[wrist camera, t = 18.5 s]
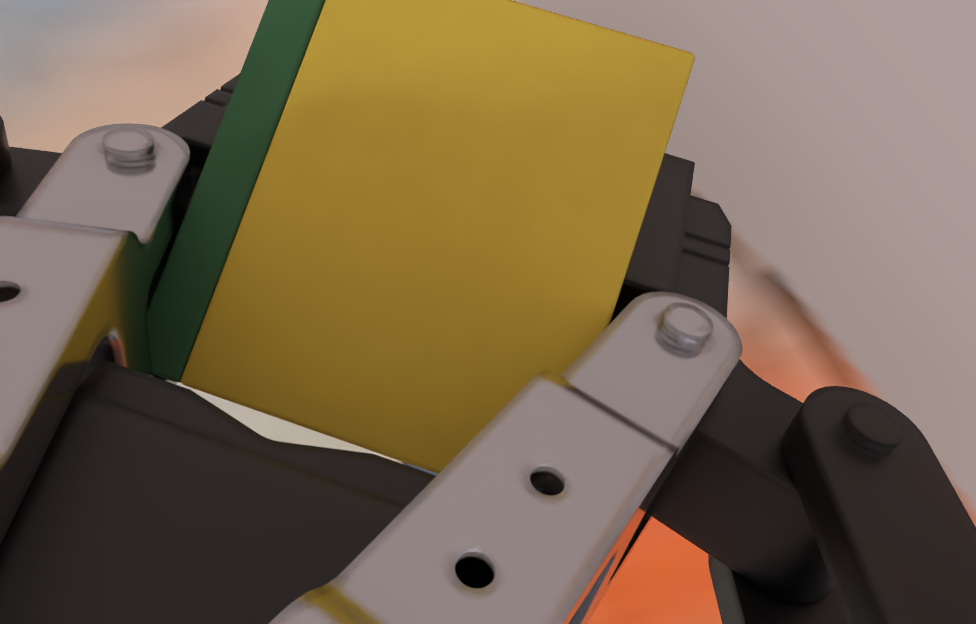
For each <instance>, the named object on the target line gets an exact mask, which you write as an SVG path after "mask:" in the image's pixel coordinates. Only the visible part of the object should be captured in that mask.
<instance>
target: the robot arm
mask: <svg viewBox="0 0 976 624" xmlns="http://www.w3.org/2000/svg"><path fill="white" fill-rule="evenodd" d="M239 75H240V74H239ZM239 75H237V76H236V77H234V78H233V79H231V80H230V81H229V82H227V83H226V84H224V85H223V86H221V90H218V89H217V90H215V91H214V92H213V93H211V94H210V95H208V96H207V97H205V101H202V100H201V101H199V102H198V103H196V104H195V105H194V106H192V107H191V108H189V109H188V110H186V111H185V112H183V113H182V114H180V115H179V116H178V117H176V118H175V119H173V120H172V121H170V122H169V123H167V124H166V125H164V126H163V127H162V128H158V127H154V126H149V125H142V124H113V125H106V126H101V127H97V128H94V129H91V130H88V131H86V132H84V133H82V134H80V135H78V136H77V137H76V138H74V139H73V140H72V141H71V142H70V144H69V145H68V146H67V148H66V149H65V150H64V152H63V153H56V152H48V151H40V150H32V149H23V148H15V147H9V145H8V140H7V136H6V131H5V127H4V122H3V120H2V117H1V116H0V624H587V623H588V621H589V619H590V618H591V616H592V614H593V612H594V611H595V609H596V607H597V606H598V604H599V602H600V601H601V599H602V598H603V596H604V594H605V593H606V591H607V590H608V588H609V586H610V585H611V583H612V582H613V580H614V578H615V577H616V575H617V574H618V572H619V570H620V569H621V567H622V566H623V564H624V562H625V561H626V559H627V558H628V556H629V554H630V553H631V551H632V550H633V548H634V546H635V545H636V543H637V542H638V540H639V538H640V537H641V535H642V534H643V532H644V530H645V529H646V527H647V526H648V524H649V522H650V521H651V519H652V517H654V518H655V519H657V520H658V521H660V522H661V523H663V524H664V525H666V526H667V527H669V528H670V529H672V530H673V531H675V532H676V533H678V534H679V535H681V536H682V537H684V538H685V539H687V540H688V541H690V542H691V543H693V544H694V545H696V546H697V547H699V548H700V549H702V550H703V551H705V552H706V553H708V554H709V561H708V563H709V569H710V574H711V578H712V582H713V586H714V590H715V595H716V599H717V603H718V607H719V611H720V615H721V619H722V623H723V624H976V527H975V525H974V524H973V522H972V520H971V518H970V517H969V515H968V513H967V511H966V509H965V508H964V506H963V504H962V502H961V500H960V499H959V497H958V495H957V493H956V491H955V490H954V488H953V486H952V484H951V483H950V481H949V479H948V477H947V475H946V474H945V472H944V470H943V468H942V466H941V465H940V463H939V461H938V459H937V458H936V456H935V454H934V452H933V450H932V449H931V447H930V445H929V443H928V441H927V440H926V438H925V437H924V435H923V434H922V432H921V431H920V430H919V429H918V428H917V427H916V425H915V424H914V423H913V422H912V421H911V420H910V419H908V418H907V417H906V416H905V415H904V414H902V413H901V412H900V411H899V410H897V409H896V408H895V407H893V406H892V405H890V404H888V403H887V402H885V401H883V400H881V399H880V398H878V397H876V396H873V395H871V394H869V393H866V392H863V391H860V390H857V389H853V388H848V387H840V386H830V387H824V388H820V389H817V390H815V391H814V392H812V393H811V394H810V395H809V396H808V397H807V398H806V400H805V402H804V403H802V402H800V401H798V400H797V399H795V398H793V397H791V396H790V395H788V394H786V393H784V392H782V391H781V390H779V389H777V388H775V387H774V386H772V385H770V384H769V383H767V382H766V381H764V380H762V379H761V378H760V377H758V376H757V375H756V374H754V373H753V372H752V371H751V370H750V369H749V368H748V367H746V366H745V365H744V364H743V362H742V361H741V360H740V359H739V358H740V356H741V353H742V344H741V340H740V337H739V335H738V333H737V331H736V330H735V328H734V327H733V325H732V324H731V323H730V322H729V321H728V320H727V301H728V282H729V267H728V265H729V263H730V250H729V248H730V243H731V224H730V223H729V221H728V219H727V218H726V216H725V214H724V213H723V211H722V209H721V207H720V206H719V204H717V203H714V202H710V201H707V200H704V199H701V198H697V197H694V196H691V195H690V193H691V186H692V179H693V172H694V165H695V163H694V162H692V161H689V160H685V159H682V158H679V157H675V156H672V155H669V154H666V153H664V156H663V159H662V163H661V166H660V169H659V172H658V175H657V178H656V181H655V184H654V187H653V191H652V194H651V197H650V200H649V203H648V206H647V209H646V212H645V216H644V219H643V222H642V225H641V228H640V231H639V234H638V237H637V240H636V244H635V247H634V250H633V253H632V256H631V259H630V262H629V265H628V268H627V272H626V275H625V278H624V281H623V284H622V287H621V290H620V293H619V297H618V300H617V303H616V306H615V309H614V312H613V315H612V318H611V321H610V324H609V326H608V327H607V328H606V329H605V330H604V331H603V332H602V333H601V334H600V335H599V336H598V337H597V338H596V339H595V340H594V342H593V343H592V344H591V345H590V346H589V347H588V348H587V349H586V350H585V351H584V352H583V353H582V354H581V355H580V356H579V358H578V359H577V360H576V361H575V362H574V363H573V364H572V365H571V366H570V367H569V368H568V369H567V370H566V371H565V372H564V373H563V375H562V376H561V377H559V376H557V375H556V374H554V373H552V372H551V371H549V370H543V371H541V372H540V373H538V374H537V375H536V376H535V377H534V378H533V379H532V380H531V381H530V382H529V383H528V384H527V385H526V386H525V387H524V388H523V389H522V390H521V391H520V392H519V393H518V394H517V395H516V396H515V397H514V398H513V399H512V400H511V401H510V402H509V403H508V404H507V405H506V406H505V407H504V408H503V409H502V410H501V411H500V412H499V413H498V414H497V415H496V416H495V417H494V418H493V419H492V420H491V421H490V422H489V423H488V424H487V425H486V426H485V427H484V428H483V429H482V430H481V431H480V432H479V433H478V434H477V435H476V436H475V437H474V438H473V439H472V440H471V441H470V442H469V443H468V444H467V446H466V447H465V448H464V449H463V450H462V451H461V452H460V453H459V454H458V455H457V456H456V457H455V458H454V459H453V460H452V461H451V462H450V463H449V464H448V465H447V466H446V467H445V468H444V469H443V470H442V471H441V472H440V473H439V474H438V475H437V476H435V475H433V474H430V473H427V472H424V471H421V470H418V469H415V468H413V467H410V466H407V465H404V464H401V463H398V462H395V461H393V460H390V459H387V458H384V457H381V456H378V455H375V454H371V453H363V452H356V451H348V450H340V449H333V448H325V447H317V446H310V445H302V444H294V443H287V442H279V441H274V440H271V439H268V438H265V437H263V436H262V435H260V434H258V433H257V432H255V431H254V430H252V429H251V428H249V427H247V426H246V425H244V424H243V423H241V422H240V421H238V420H237V419H235V418H234V417H232V416H230V415H229V414H227V413H226V412H224V411H223V410H221V409H220V408H218V407H217V406H215V405H213V404H212V403H210V402H209V401H207V400H206V399H204V398H203V397H201V396H200V395H198V394H197V393H195V392H193V391H192V390H190V389H187V388H184V387H181V386H179V385H177V382H173V381H170V380H167V379H165V378H162V377H159V376H156V375H153V371H152V362H151V353H150V344H149V335H148V327H147V311H148V308H149V306H150V303H151V301H152V298H153V296H154V293H155V290H156V288H157V285H158V283H159V280H160V278H161V275H162V273H163V270H164V267H165V265H166V262H167V260H168V257H169V255H170V252H171V249H172V247H173V244H174V242H175V239H176V237H177V234H178V232H179V229H180V226H181V224H182V221H183V219H184V216H185V214H186V211H187V209H188V206H189V203H190V201H191V198H192V196H193V193H194V191H195V188H196V185H197V183H198V180H199V178H200V175H201V173H202V170H203V168H204V165H205V162H206V160H207V157H208V155H209V152H210V150H211V147H212V145H213V142H214V139H215V137H216V134H217V132H218V129H219V127H220V124H221V121H222V119H223V116H224V114H225V111H226V109H227V106H228V104H229V101H230V98H231V96H232V93H233V91H234V88H235V86H236V83H237V81H238V78H239Z"/></svg>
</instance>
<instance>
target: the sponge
mask: <svg viewBox="0 0 976 624" xmlns="http://www.w3.org/2000/svg"><path fill="white" fill-rule="evenodd" d="M694 60H695V59H694V54H692V53H691V52H687V51H683V50H680V49H677V48H673V47H669V46H666V45H663V44H659V43H656V42H652V41H649V40H646V39H642V38H639V37H636V36H632V35H629V34H625V33H622V32H618V31H615V30H611V29H608V28H604V27H601V26H598V25H594V24H591V23H587V22H584V21H581V20H577V19H574V18H570V17H567V16H563V15H560V14H557V13H553V12H550V11H546V10H543V9H539V8H536V7H533V6H529V5H526V4H522V3H519V2H515V1H512V0H269V1H268V4H267V6H266V9H265V11H264V14H263V17H262V19H261V22H260V24H259V27H258V29H257V32H256V34H255V37H254V40H253V42H252V45H251V47H250V50H249V52H248V55H247V58H246V60H245V63H244V65H243V68H242V70H241V73H240V75H239V78H238V81H237V83H236V86H235V88H234V91H233V93H232V96H231V98H230V101H229V104H228V106H227V109H226V111H225V114H224V116H223V119H222V121H221V124H220V127H219V129H218V132H217V134H216V137H215V139H214V142H213V145H212V147H211V150H210V152H209V155H208V157H207V160H206V162H205V165H204V168H203V170H202V173H201V175H200V178H199V180H198V183H197V185H196V188H195V191H194V193H193V196H192V198H191V201H190V203H189V206H188V209H187V211H186V214H185V216H184V219H183V221H182V224H181V226H180V229H179V232H178V234H177V237H176V239H175V242H174V244H173V247H172V249H171V252H170V255H169V257H168V260H167V262H166V265H165V267H164V270H163V273H162V275H161V278H160V280H159V283H158V285H157V288H156V290H155V293H154V296H153V298H152V301H151V303H150V306H149V308H148V311H147V327H148V335H149V344H150V353H151V362H152V371H153V375H156V376H159V377H162V378H165V379H167V380H170V381H173V382H180V383H182V384H183V385H185V386H187V387H190V388H193V389H196V390H199V391H202V392H205V393H207V394H210V395H213V396H216V397H219V398H222V399H225V400H227V401H230V402H233V403H236V404H239V405H242V406H245V407H247V408H250V409H253V410H256V411H259V412H262V413H265V414H267V415H270V416H273V417H276V418H279V419H282V420H285V421H287V422H290V423H293V424H296V425H299V426H302V427H305V428H307V429H310V430H313V431H316V432H319V433H322V434H325V435H327V436H330V437H333V438H336V439H339V440H342V441H345V442H347V443H350V444H353V445H356V446H359V447H362V448H365V449H367V450H370V451H373V452H376V453H379V454H382V455H385V456H387V457H390V458H393V459H396V460H399V461H402V462H405V463H407V464H410V465H413V466H416V467H419V468H422V469H425V470H427V471H430V472H433V473H436V474H439V473H440V472H441V471H442V470H443V469H444V468H445V467H446V466H447V465H448V464H449V463H450V462H451V461H452V460H453V459H454V458H455V457H456V456H457V455H458V454H459V453H460V452H461V451H462V450H463V449H464V448H465V447H466V446H467V444H468V443H469V442H470V441H471V440H472V439H473V438H474V437H475V436H476V435H477V434H478V433H479V432H480V431H481V430H482V429H483V428H484V427H485V426H486V425H487V424H488V423H489V422H490V421H491V420H492V419H493V418H494V417H495V416H496V415H497V414H498V413H499V412H500V411H501V410H502V409H503V408H504V407H505V406H506V405H507V404H508V403H509V402H510V401H511V400H512V399H513V398H514V397H515V396H516V395H517V394H518V393H519V392H520V391H521V390H522V389H523V388H524V387H525V386H526V385H527V384H528V383H529V382H530V381H531V380H532V379H533V378H534V377H535V376H536V375H537V374H538V373H540V372H541V371H543V370H549V371H551V372H552V373H554V374H556V375H557V376H559V377H561V376H562V375H563V373H564V372H565V371H566V370H567V369H568V368H569V367H570V366H571V365H572V364H573V363H574V362H575V361H576V360H577V359H578V358H579V356H580V355H581V354H582V353H583V352H584V351H585V350H586V349H587V348H588V347H589V346H590V345H591V344H592V343H593V342H594V340H595V339H596V338H597V337H598V336H599V335H600V334H601V333H602V332H603V331H604V330H605V329H606V328H607V327H608V326H609V324H610V321H611V318H612V315H613V312H614V309H615V306H616V303H617V300H618V297H619V293H620V290H621V287H622V284H623V281H624V278H625V275H626V272H627V268H628V265H629V262H630V259H631V256H632V253H633V250H634V247H635V244H636V240H637V237H638V234H639V231H640V228H641V225H642V222H643V219H644V216H645V212H646V209H647V206H648V203H649V200H650V197H651V194H652V191H653V187H654V184H655V181H656V178H657V175H658V172H659V169H660V166H661V163H662V159H663V156H664V153H665V150H666V147H667V144H668V141H669V138H670V135H671V131H672V128H673V125H674V122H675V119H676V116H677V113H678V109H679V106H680V103H681V100H682V97H683V94H684V91H685V88H686V85H687V82H688V78H689V75H690V72H691V69H692V66H693V63H694Z"/></svg>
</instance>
